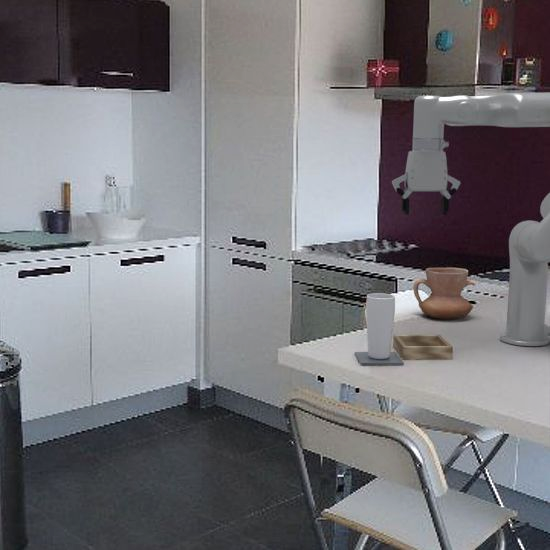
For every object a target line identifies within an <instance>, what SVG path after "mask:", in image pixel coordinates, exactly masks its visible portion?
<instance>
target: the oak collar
mask: <svg viewBox="0 0 550 550" xmlns="http://www.w3.org/2000/svg"><path fill="white" fill-rule="evenodd" d="M392 340H393V341H392V344H393V345H392V347H393V349H394V350H395V352H396V353H397V355H398V356H399V357H400V358H402V359H401V360H453V352H454V351H453V350H454V347H453V346H452V344H450V343H449V341H447V340H446V339H445V338H444V337H443V336H442V335H441V334H392Z"/></svg>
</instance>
